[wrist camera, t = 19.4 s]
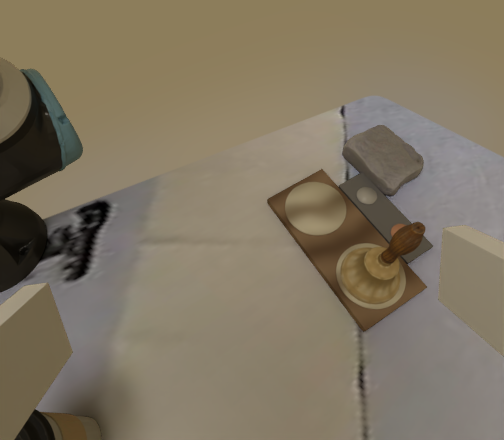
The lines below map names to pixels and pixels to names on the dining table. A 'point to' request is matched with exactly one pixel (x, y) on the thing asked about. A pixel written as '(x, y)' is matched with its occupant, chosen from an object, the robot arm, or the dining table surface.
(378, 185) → the stone block
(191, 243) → the dining table surface
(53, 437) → the coffee cup
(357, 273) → the hand bell
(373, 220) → the pattern card
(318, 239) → the board
